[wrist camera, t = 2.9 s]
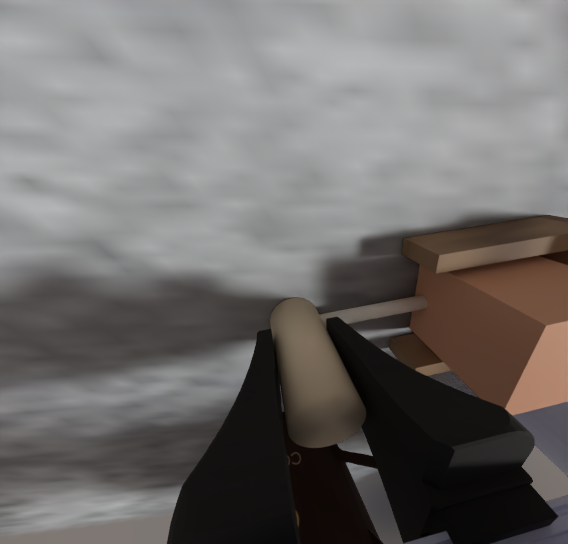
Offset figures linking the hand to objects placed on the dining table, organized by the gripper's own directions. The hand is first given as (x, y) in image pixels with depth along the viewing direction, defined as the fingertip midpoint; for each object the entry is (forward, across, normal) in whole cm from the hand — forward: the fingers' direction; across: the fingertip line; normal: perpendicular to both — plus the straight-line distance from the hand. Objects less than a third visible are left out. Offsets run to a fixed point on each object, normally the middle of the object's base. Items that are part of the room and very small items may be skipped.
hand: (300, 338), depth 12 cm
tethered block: (+2, -6, 0) cm, 6 cm away
